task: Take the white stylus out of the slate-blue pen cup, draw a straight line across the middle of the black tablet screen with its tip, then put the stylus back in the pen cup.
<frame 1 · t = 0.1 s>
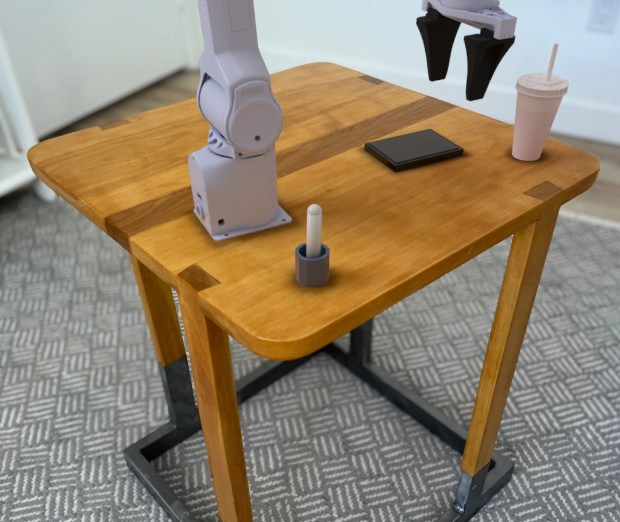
hand: (455, 89, 75), 10 cm above the table, tool pointing down, fingers open, 7 cm apart
stylus: (312, 276, 63), resting on pencil cup
smoothie: (525, 156, 84), on the table
tablet: (413, 152, 85), on the table
pencil cup: (312, 280, 63), on the table
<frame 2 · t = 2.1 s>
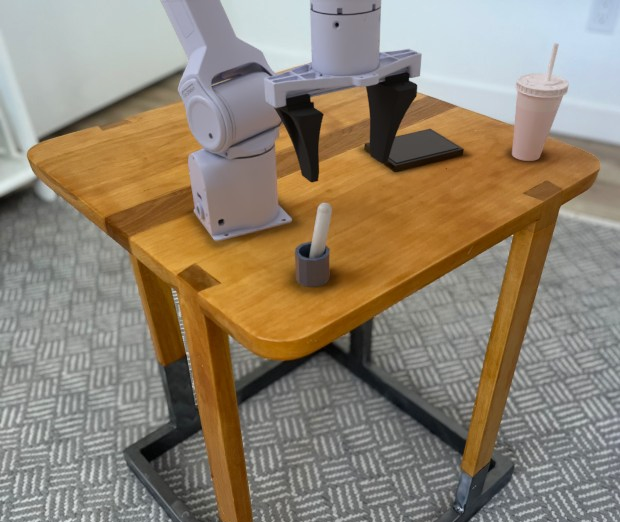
hand: (345, 168, 58), 10 cm above the table, tool pointing down, fingers open, 7 cm apart
stylus: (312, 276, 63), resting on pencil cup, tilted 11°
everything else where it was.
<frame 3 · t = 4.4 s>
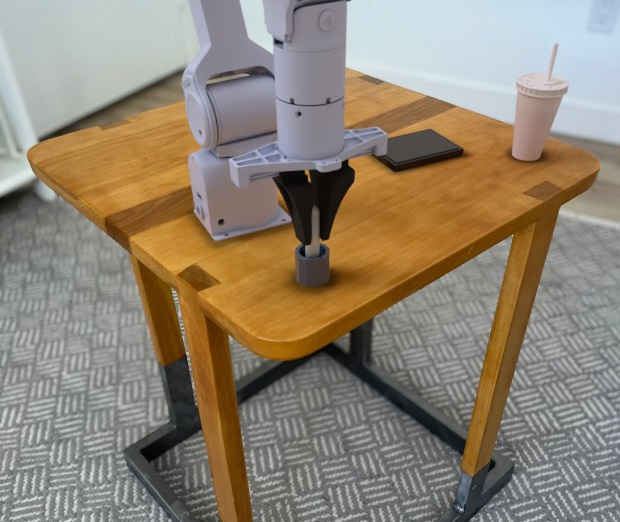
hand: (312, 238, 60), 5 cm above the table, tool pointing down, fingers closed on stylus, 1 cm apart
stylus: (312, 276, 63), resting on pencil cup, touching gripper
everything else where it was.
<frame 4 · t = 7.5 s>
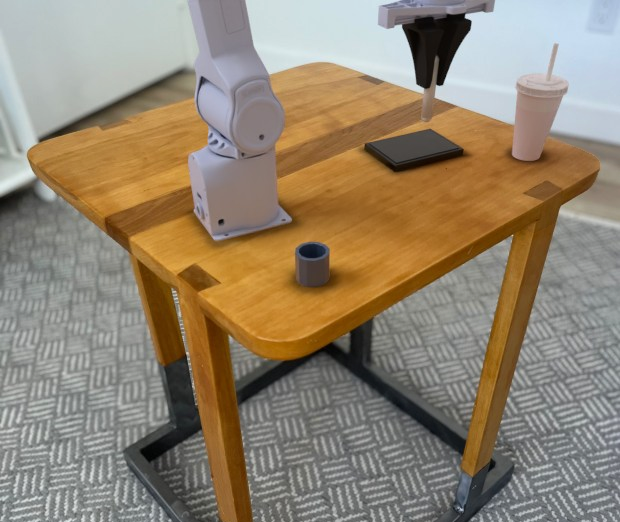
hand: (429, 84, 75), 10 cm above the table, tool pointing down, fingers closed on stylus
stylus: (426, 121, 78), point 6 cm above the table, touching gripper
everything else where it was.
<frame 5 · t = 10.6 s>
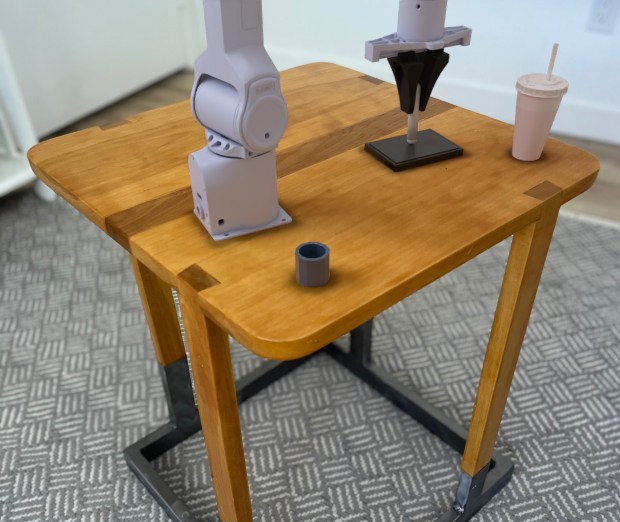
hand: (412, 110, 82), 5 cm above the table, tool pointing down, fingers closed on stylus, 1 cm apart
stylus: (411, 143, 85), point 1 cm above the table, touching gripper
everything else where it was.
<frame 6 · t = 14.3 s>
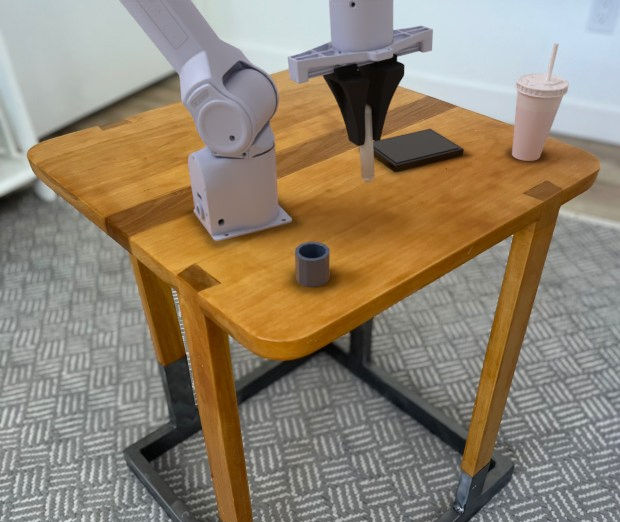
hand: (364, 140, 63), 10 cm above the table, tool pointing down, fingers closed on stylus
stylus: (368, 182, 66), point 6 cm above the table, tilted 7°, touching gripper
everything else where it was.
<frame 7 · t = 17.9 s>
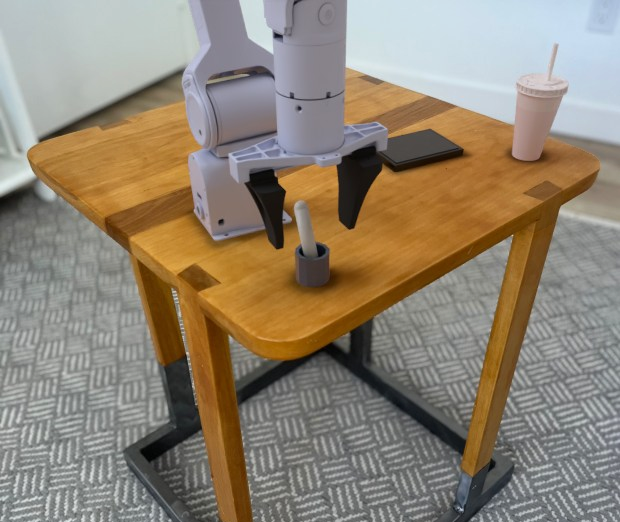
hand: (312, 234, 59), 5 cm above the table, tool pointing down, fingers open, 7 cm apart
stylus: (316, 280, 62), resting on pencil cup, tilted 22°
everything else where it was.
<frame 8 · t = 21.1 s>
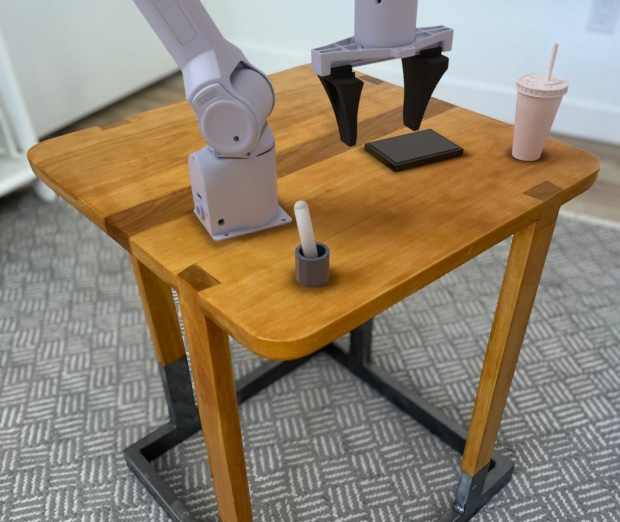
hand: (380, 135, 64), 10 cm above the table, tool pointing down, fingers open, 7 cm apart
nothing on the table moved.
at the end: stylus 0.7 cm off-centre in the pencil cup, point 0.5 cm above the pencil cup's base; stylus tilted 23°; stylus touching pencil cup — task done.
